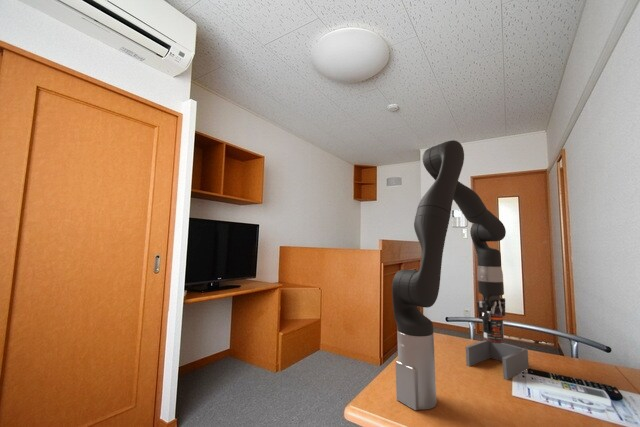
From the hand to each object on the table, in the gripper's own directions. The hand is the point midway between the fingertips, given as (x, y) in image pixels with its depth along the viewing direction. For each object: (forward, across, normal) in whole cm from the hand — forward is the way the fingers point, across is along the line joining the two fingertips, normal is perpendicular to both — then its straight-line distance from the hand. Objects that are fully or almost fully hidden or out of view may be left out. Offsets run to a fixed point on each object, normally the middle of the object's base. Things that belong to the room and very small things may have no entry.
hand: (493, 331), depth 95 cm
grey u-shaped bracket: (+12, +1, 0) cm, 12 cm away
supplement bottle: (+3, 0, 0) cm, 3 cm away
